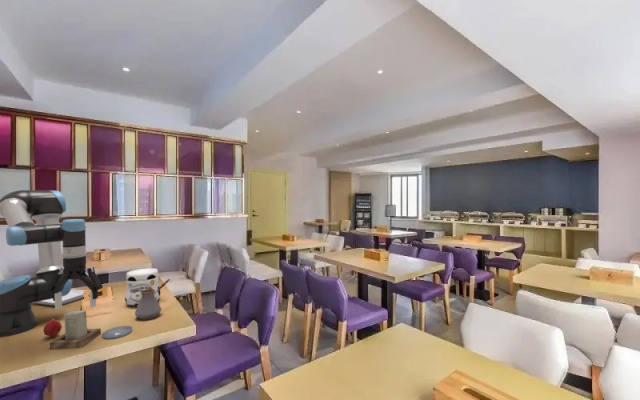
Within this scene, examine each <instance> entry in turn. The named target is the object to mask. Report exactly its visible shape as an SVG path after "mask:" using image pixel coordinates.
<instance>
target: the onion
mask: <svg viewBox="0 0 640 400" xmlns="http://www.w3.org/2000/svg"><path fill="white" fill-rule="evenodd" d="M62 327H63V326H62V324H61V322H59V321H58V320H56V319H55V318H52V319H50V320H49V321H48V322H47V323H46V324H45V325H44V328H43V334H44V335H46V336H47V337H50V338H55V337H56V336H57V335H58V334H59V333H60V332H61V330H62Z"/></svg>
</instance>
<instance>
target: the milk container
mask: <svg viewBox="0 0 640 400" xmlns="http://www.w3.org/2000/svg"><path fill="white" fill-rule="evenodd" d="M125 277H126V291H125V295H124V302H125V304H127V305H128V306H131V307H138V304H139V302H140V300H141V297H142V294H141V293H140V292H141V291H143V290H148V289H154V290H155V291H156V290H158V288H159V287H160V285H159V270H158V268H154V267H146V268H140V269H139V268H138V269H133V270H130V271H128V272H126V276H125ZM154 296H155V298H156V300H157V301H159V299H160V297H161V289H160V290H159V291H158V292H157V293H156V294H155V295H154ZM127 305H126V306H127Z"/></svg>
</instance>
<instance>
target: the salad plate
mask: <svg viewBox="0 0 640 400" xmlns="http://www.w3.org/2000/svg"><path fill="white" fill-rule="evenodd" d="M84 291H87V290H85V289H73V288H71V290H70V292H69V293H68V294H67V295H65V296H62V306H63V305H66V304H69V303H71V302H75V301H79V300H81V299H83V298H82V297H83V295H84V294H83V293H84ZM32 304H37V305H38V304H39V305H47V306H54V307H55V301H53V299H48V300H43V301H38V302H33V303H32Z"/></svg>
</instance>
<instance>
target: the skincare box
mask: <svg viewBox="0 0 640 400" xmlns="http://www.w3.org/2000/svg"><path fill="white" fill-rule="evenodd" d="M87 323H88V322H87V310H72V311H69V312H67V313H64V331H65V332H64V334H65V337H66V340H76V339H81V338H82V337H84V336H85V335H87V329H88V324H87Z"/></svg>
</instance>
